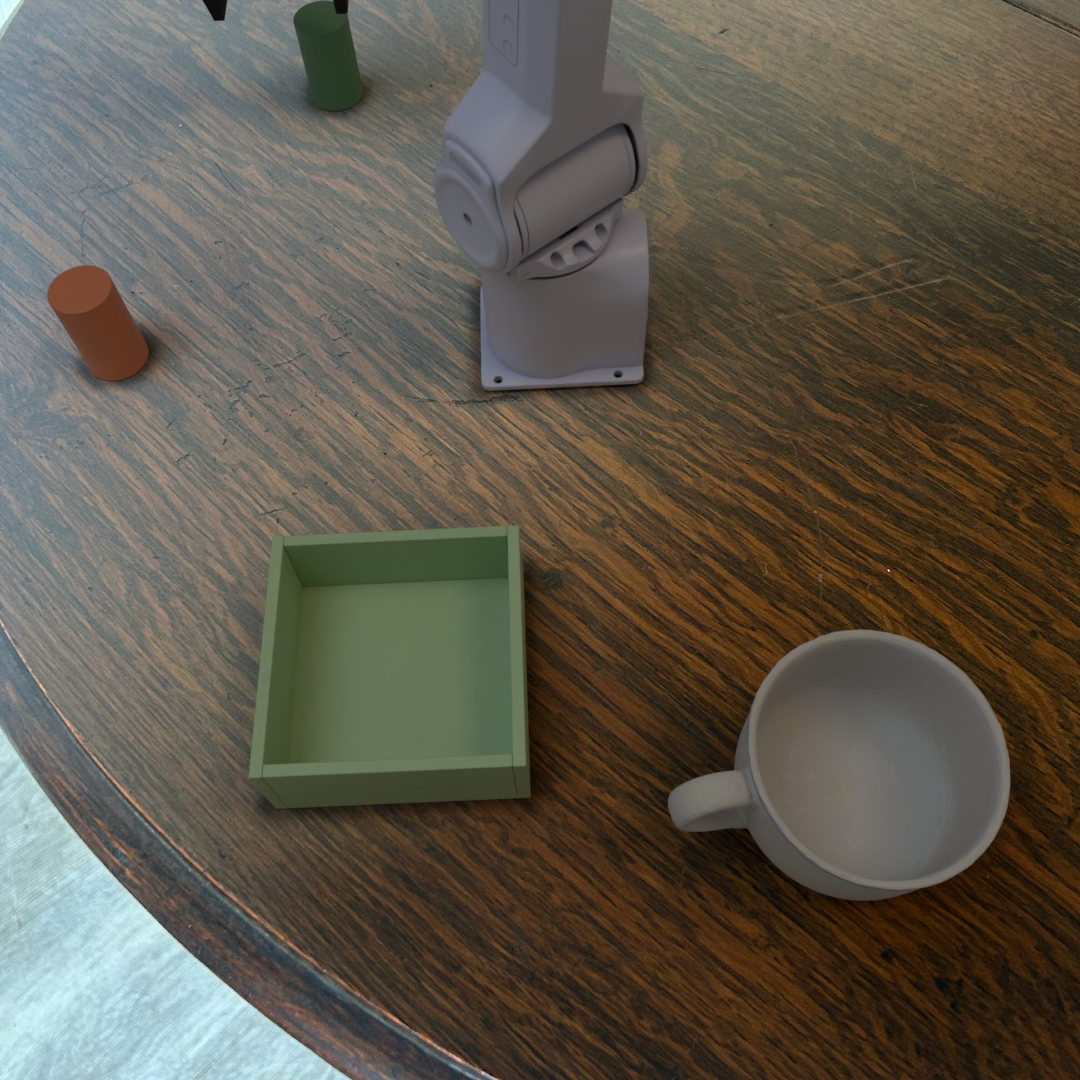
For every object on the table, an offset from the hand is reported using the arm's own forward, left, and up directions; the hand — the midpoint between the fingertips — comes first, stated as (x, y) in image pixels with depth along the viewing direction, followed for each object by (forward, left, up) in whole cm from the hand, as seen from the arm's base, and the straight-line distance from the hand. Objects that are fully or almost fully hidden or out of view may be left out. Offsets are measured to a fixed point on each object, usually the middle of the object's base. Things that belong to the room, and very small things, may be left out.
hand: (281, 7), depth 68 cm
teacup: (-27, +49, -9) cm, 57 cm away
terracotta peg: (+10, +20, -9) cm, 24 cm away
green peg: (-2, -3, -9) cm, 9 cm away
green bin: (-8, +42, -9) cm, 44 cm away
